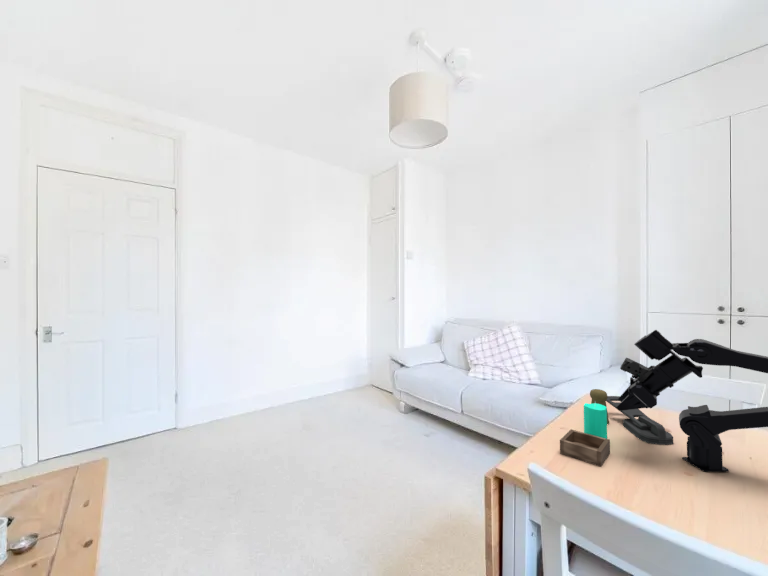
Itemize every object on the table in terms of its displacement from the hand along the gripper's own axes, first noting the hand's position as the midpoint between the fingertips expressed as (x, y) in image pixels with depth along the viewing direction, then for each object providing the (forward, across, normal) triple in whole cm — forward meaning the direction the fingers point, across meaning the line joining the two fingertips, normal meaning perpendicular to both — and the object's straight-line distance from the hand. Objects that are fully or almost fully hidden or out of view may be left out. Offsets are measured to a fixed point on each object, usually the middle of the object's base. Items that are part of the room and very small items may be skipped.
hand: (618, 404), depth 98 cm
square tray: (+14, +11, +3) cm, 18 cm away
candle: (+13, 0, +5) cm, 14 cm away
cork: (+13, -17, +4) cm, 22 cm away
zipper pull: (+6, -18, +11) cm, 23 cm away
